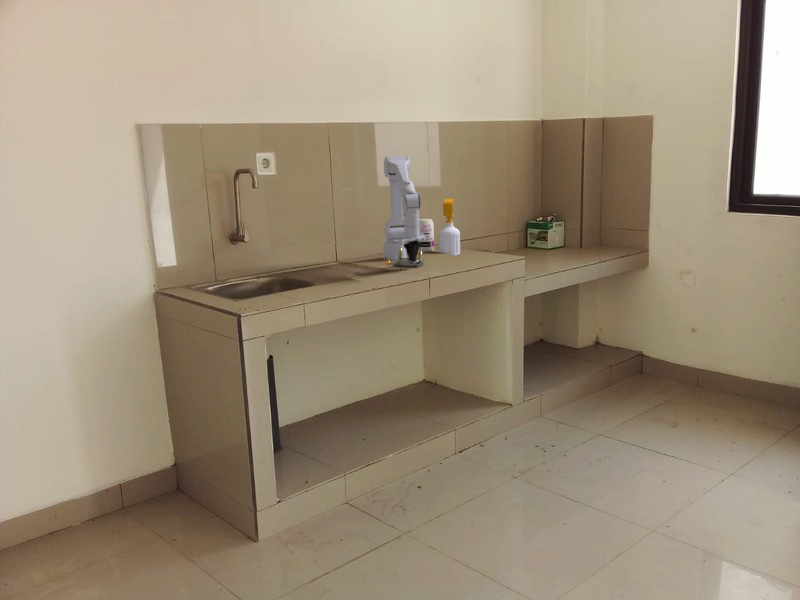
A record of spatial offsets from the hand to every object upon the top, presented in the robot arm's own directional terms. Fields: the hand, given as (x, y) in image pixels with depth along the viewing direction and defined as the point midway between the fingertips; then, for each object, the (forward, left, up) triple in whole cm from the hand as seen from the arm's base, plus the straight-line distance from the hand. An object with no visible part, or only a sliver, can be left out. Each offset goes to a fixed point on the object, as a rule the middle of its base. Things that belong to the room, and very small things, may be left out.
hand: (412, 261), depth 261 cm
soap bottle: (+2, +43, -5) cm, 43 cm away
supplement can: (-11, +47, -5) cm, 48 cm away
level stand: (-4, +7, -5) cm, 9 cm away
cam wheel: (-6, +6, -3) cm, 9 cm away
